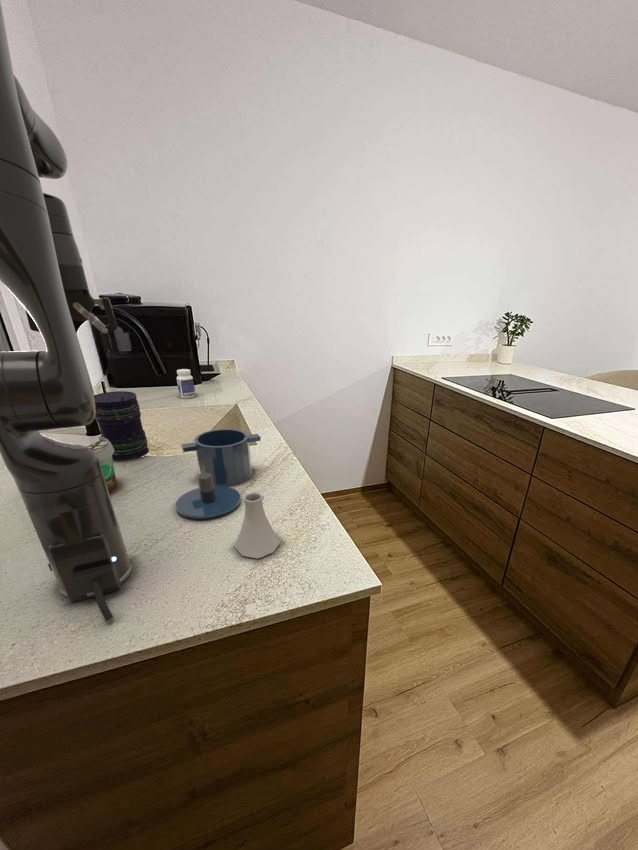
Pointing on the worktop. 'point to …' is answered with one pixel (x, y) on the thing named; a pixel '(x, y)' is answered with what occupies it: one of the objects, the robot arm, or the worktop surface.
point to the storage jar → (121, 424)
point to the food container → (106, 461)
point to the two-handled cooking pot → (224, 455)
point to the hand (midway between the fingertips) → (83, 353)
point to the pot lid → (207, 499)
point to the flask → (256, 529)
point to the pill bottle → (185, 383)
